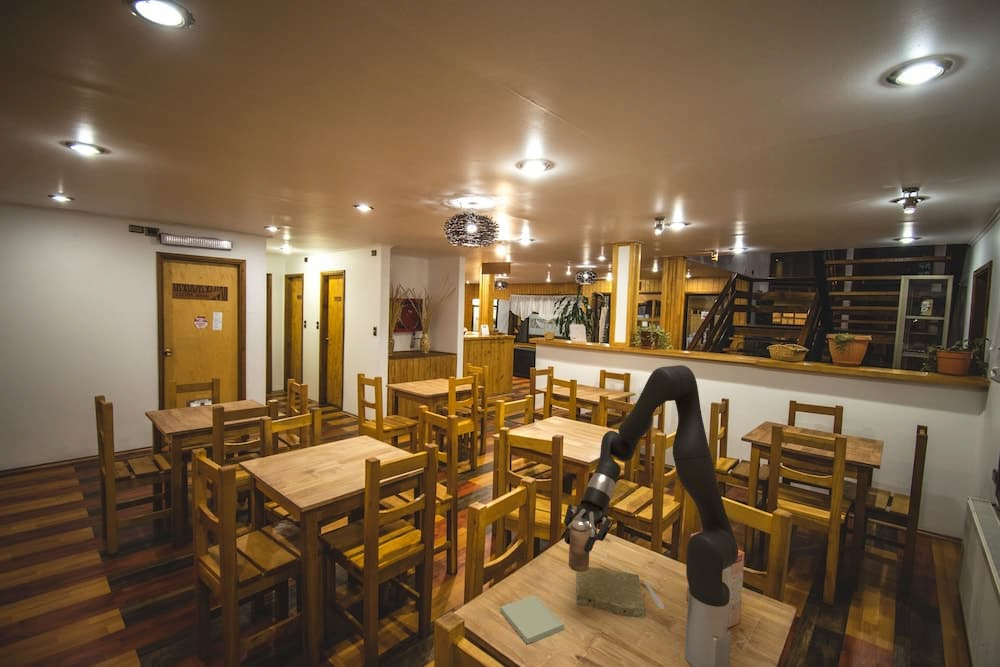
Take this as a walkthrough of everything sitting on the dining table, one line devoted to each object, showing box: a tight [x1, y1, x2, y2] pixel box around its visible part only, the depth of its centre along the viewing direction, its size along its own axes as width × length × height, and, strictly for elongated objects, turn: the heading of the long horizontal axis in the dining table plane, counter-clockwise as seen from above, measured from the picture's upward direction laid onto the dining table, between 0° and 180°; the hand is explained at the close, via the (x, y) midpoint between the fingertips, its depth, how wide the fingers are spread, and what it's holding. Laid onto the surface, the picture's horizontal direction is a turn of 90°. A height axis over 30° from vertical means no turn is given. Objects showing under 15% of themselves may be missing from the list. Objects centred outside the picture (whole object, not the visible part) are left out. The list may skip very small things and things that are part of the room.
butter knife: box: [643, 581, 666, 611], centre depth 145 cm, size 1×27×3 cm
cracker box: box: [686, 530, 745, 629], centre depth 131 cm, size 14×6×21 cm, turn 27°
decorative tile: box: [575, 566, 646, 619], centre depth 138 cm, size 19×20×4 cm
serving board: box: [499, 594, 565, 645], centre depth 125 cm, size 14×12×2 cm
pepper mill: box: [568, 517, 590, 573], centre depth 126 cm, size 6×6×13 cm
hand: (576, 547), depth 125 cm, fingers closed on pepper mill, 5 cm apart
